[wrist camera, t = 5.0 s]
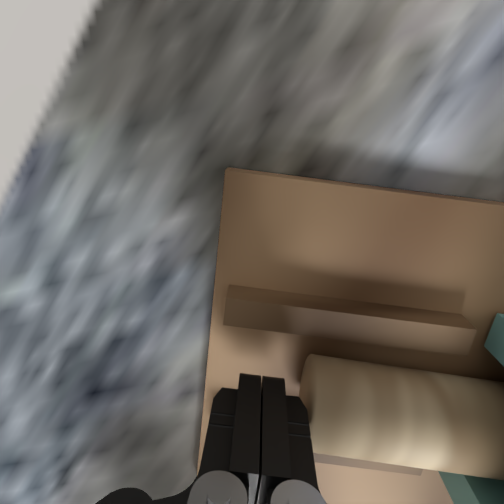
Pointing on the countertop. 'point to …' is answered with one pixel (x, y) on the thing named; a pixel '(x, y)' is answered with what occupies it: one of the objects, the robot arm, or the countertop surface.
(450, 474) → the block
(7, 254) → the countertop surface
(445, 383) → the dowel
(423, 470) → the board
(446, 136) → the countertop surface
